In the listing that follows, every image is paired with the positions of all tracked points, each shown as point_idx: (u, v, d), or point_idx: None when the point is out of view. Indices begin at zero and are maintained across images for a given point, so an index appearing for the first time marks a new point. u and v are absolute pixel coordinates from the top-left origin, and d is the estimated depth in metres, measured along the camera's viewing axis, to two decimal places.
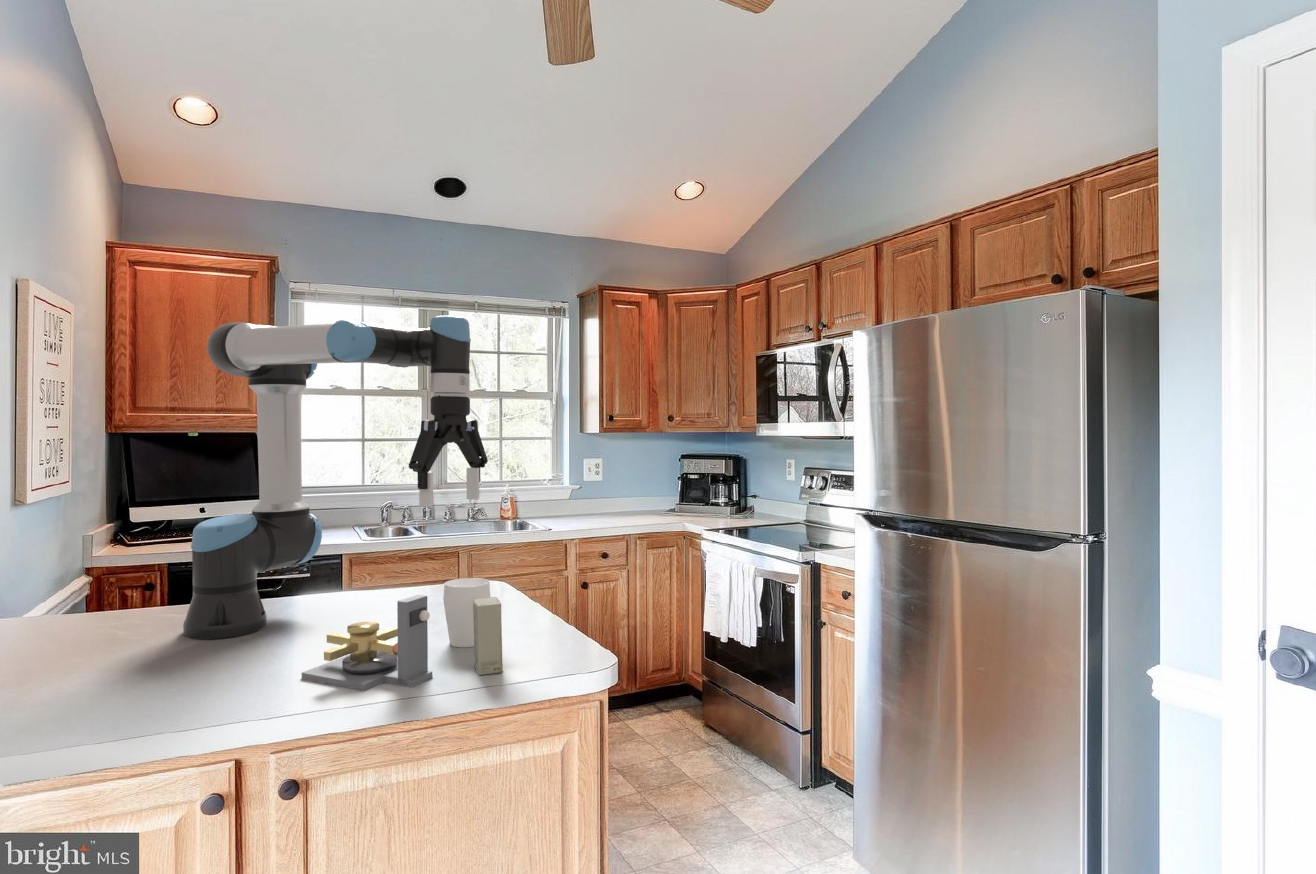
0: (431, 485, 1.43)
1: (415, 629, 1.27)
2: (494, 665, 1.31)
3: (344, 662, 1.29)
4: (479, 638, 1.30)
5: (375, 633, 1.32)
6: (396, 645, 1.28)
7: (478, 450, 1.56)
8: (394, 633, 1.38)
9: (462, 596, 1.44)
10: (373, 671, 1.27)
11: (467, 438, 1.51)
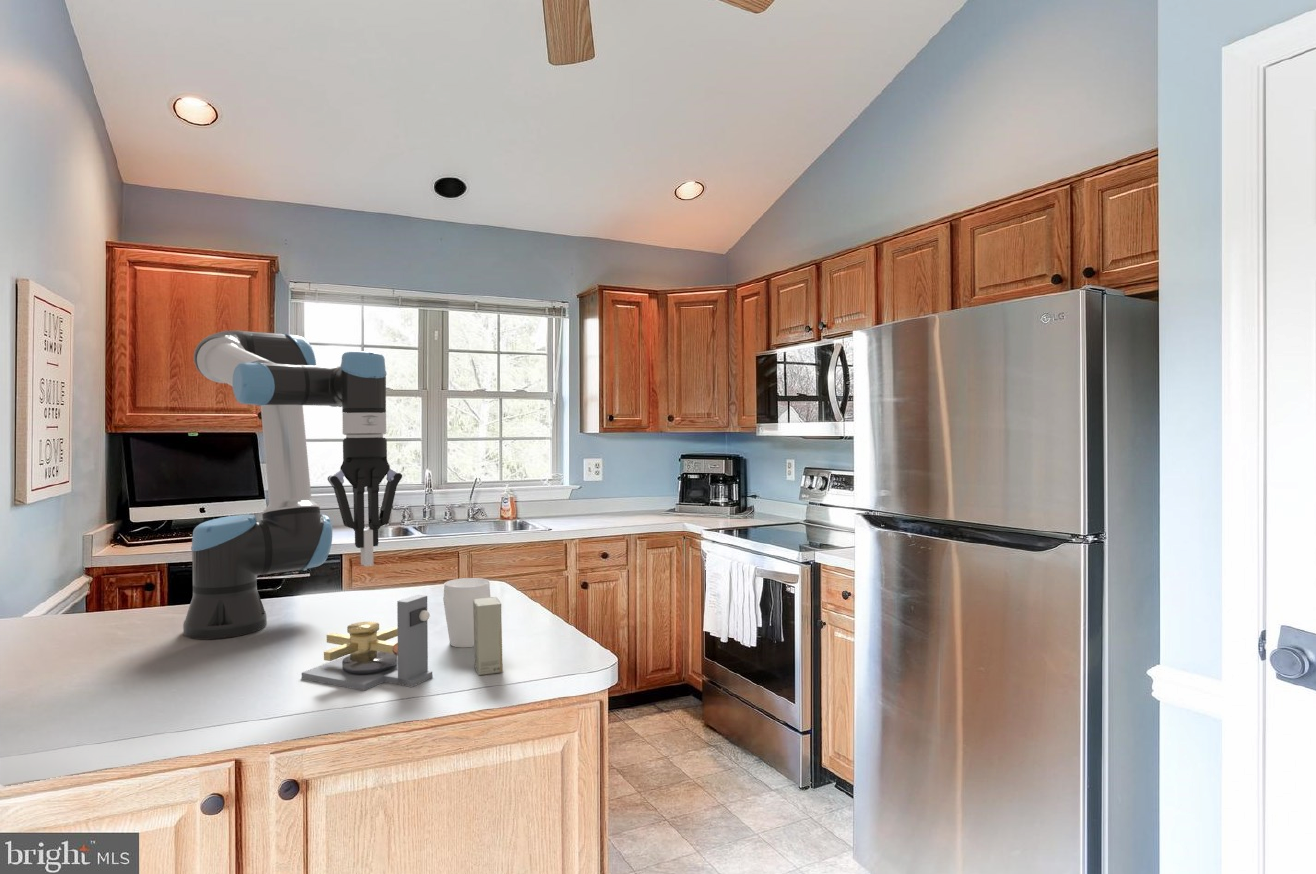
0: (366, 544, 1.37)
1: (415, 629, 1.27)
2: (494, 665, 1.31)
3: (344, 662, 1.29)
4: (479, 638, 1.30)
5: (375, 633, 1.32)
6: (396, 645, 1.28)
7: (384, 505, 1.39)
8: (394, 633, 1.38)
9: (462, 596, 1.44)
10: (373, 671, 1.27)
11: (375, 486, 1.38)
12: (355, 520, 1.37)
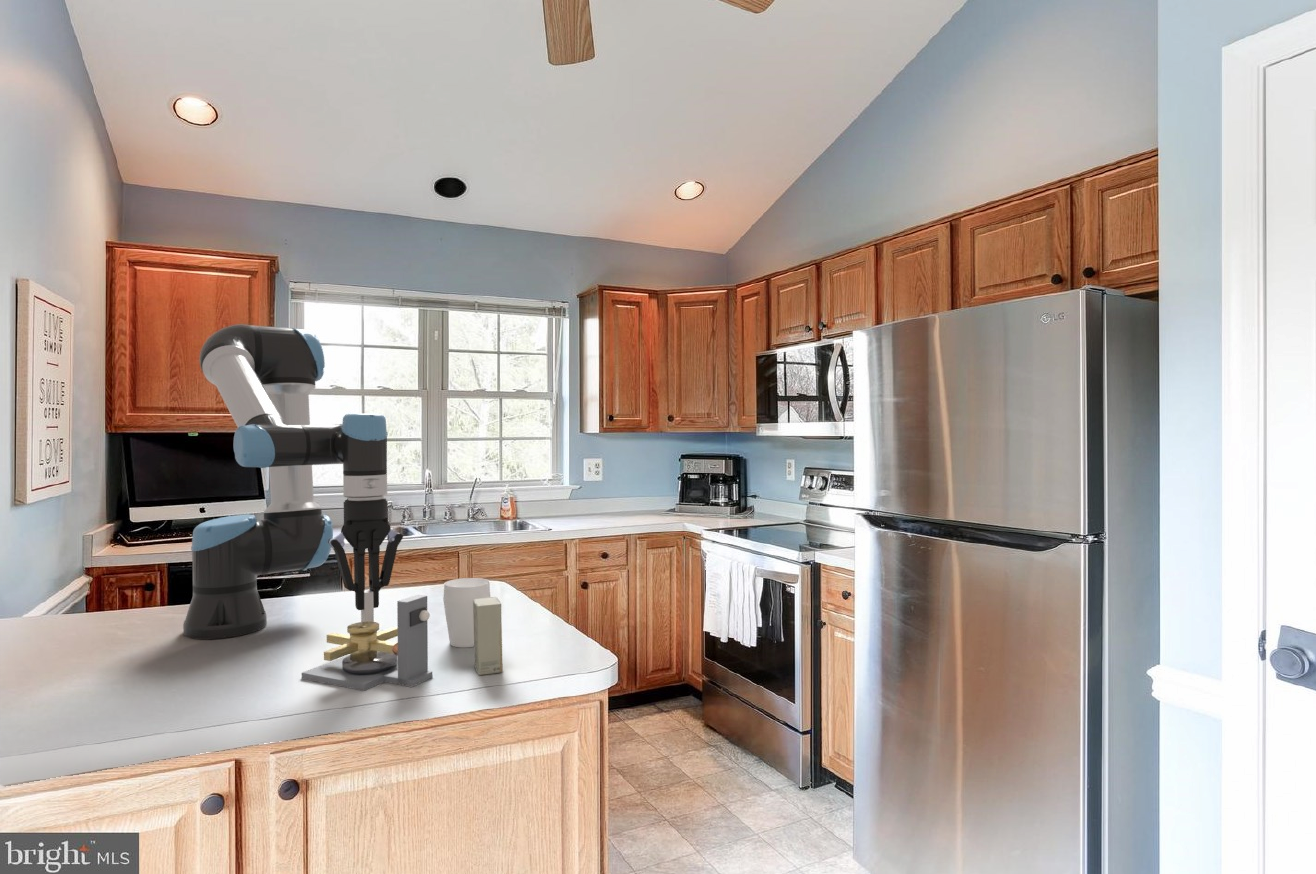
0: (367, 606, 1.37)
1: (415, 629, 1.27)
2: (494, 665, 1.31)
3: (344, 662, 1.29)
4: (479, 638, 1.30)
5: (375, 633, 1.32)
6: (396, 645, 1.28)
7: (385, 566, 1.39)
8: (394, 633, 1.38)
9: (462, 596, 1.44)
10: (373, 671, 1.27)
11: (376, 548, 1.37)
12: (355, 582, 1.37)
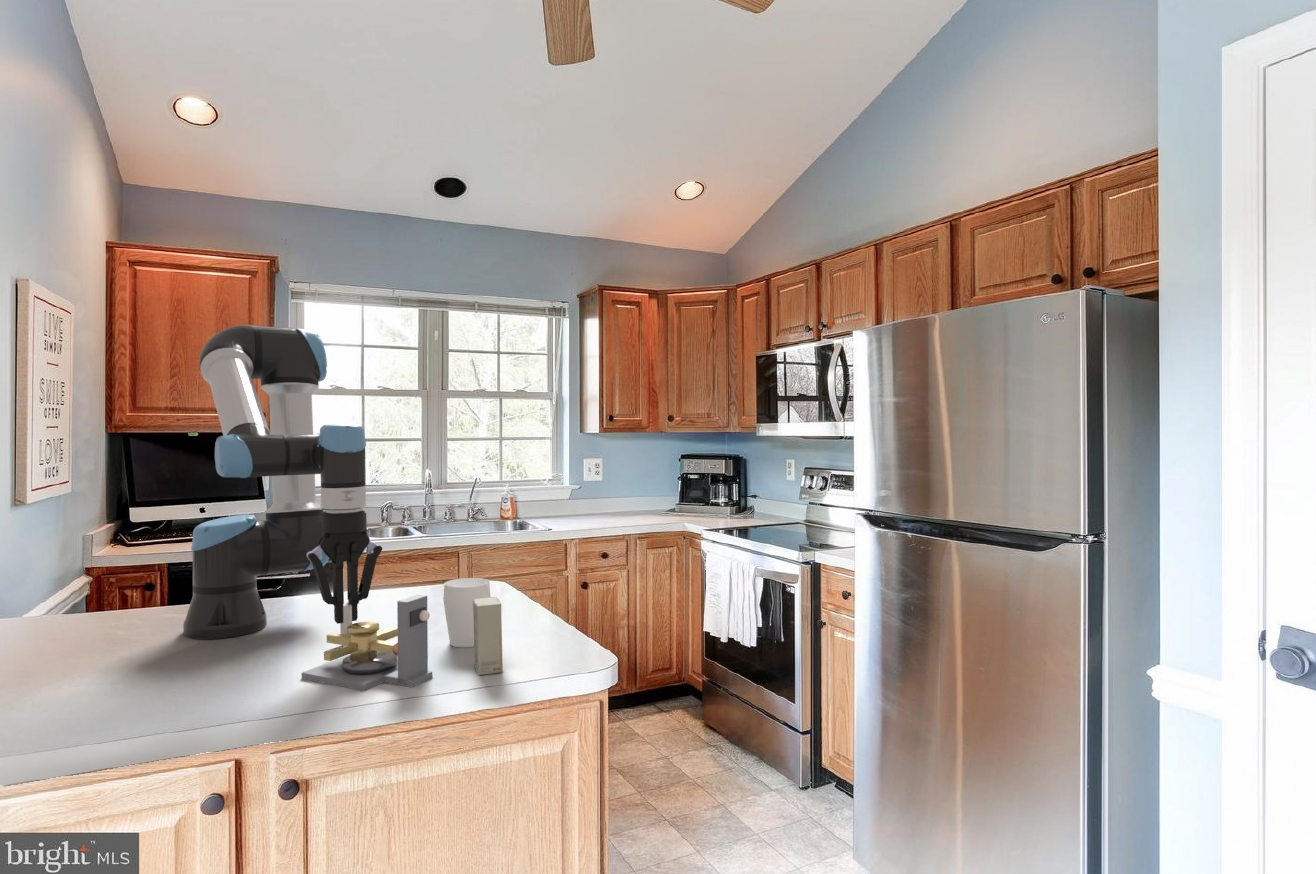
0: (346, 619, 1.35)
1: (415, 629, 1.27)
2: (494, 665, 1.31)
3: (344, 662, 1.29)
4: (479, 638, 1.30)
5: (375, 633, 1.32)
6: (396, 645, 1.28)
7: (364, 579, 1.37)
8: (394, 633, 1.38)
9: (462, 596, 1.44)
10: (373, 671, 1.27)
11: (354, 561, 1.35)
12: (334, 595, 1.35)
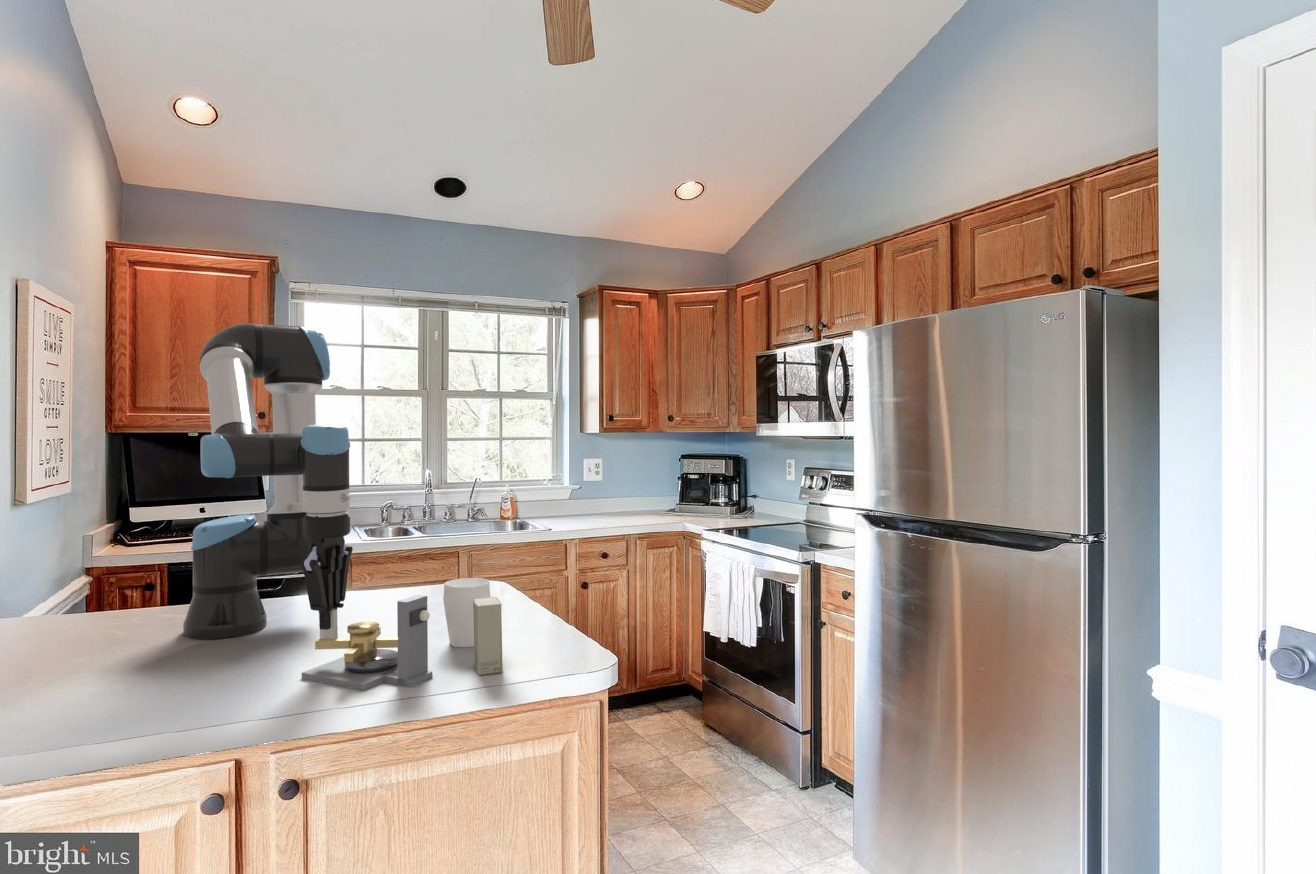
0: (335, 623, 1.32)
1: (415, 629, 1.27)
2: (494, 665, 1.31)
3: (352, 663, 1.29)
4: (479, 638, 1.30)
5: (376, 631, 1.33)
6: None
7: (340, 581, 1.35)
8: (378, 632, 1.39)
9: (462, 596, 1.44)
10: (388, 667, 1.30)
11: (340, 564, 1.33)
12: None
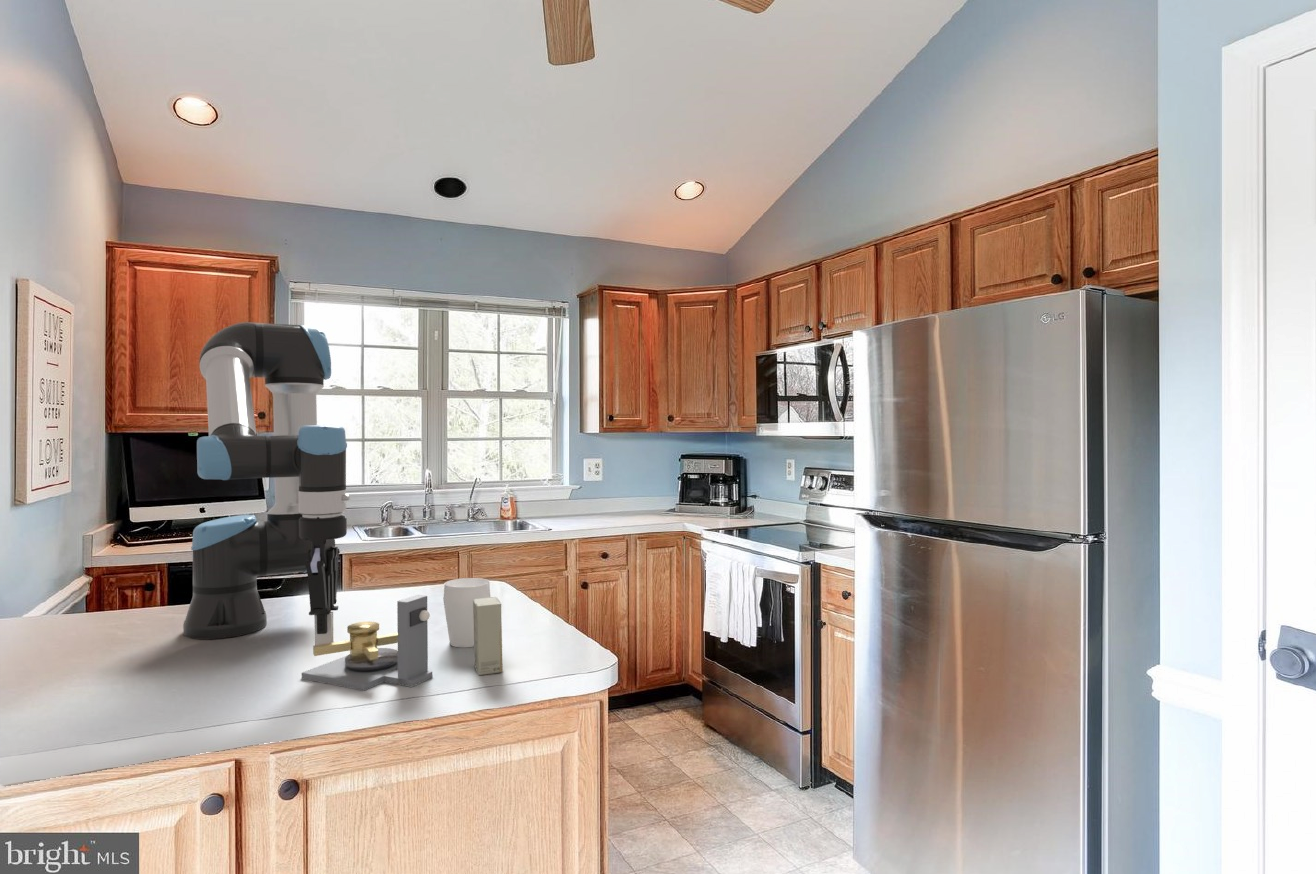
0: (331, 627, 1.30)
1: (415, 629, 1.27)
2: (494, 665, 1.31)
3: (362, 663, 1.29)
4: (479, 638, 1.30)
5: None
6: None
7: None
8: None
9: (462, 596, 1.44)
10: (397, 661, 1.32)
11: (335, 566, 1.32)
12: None
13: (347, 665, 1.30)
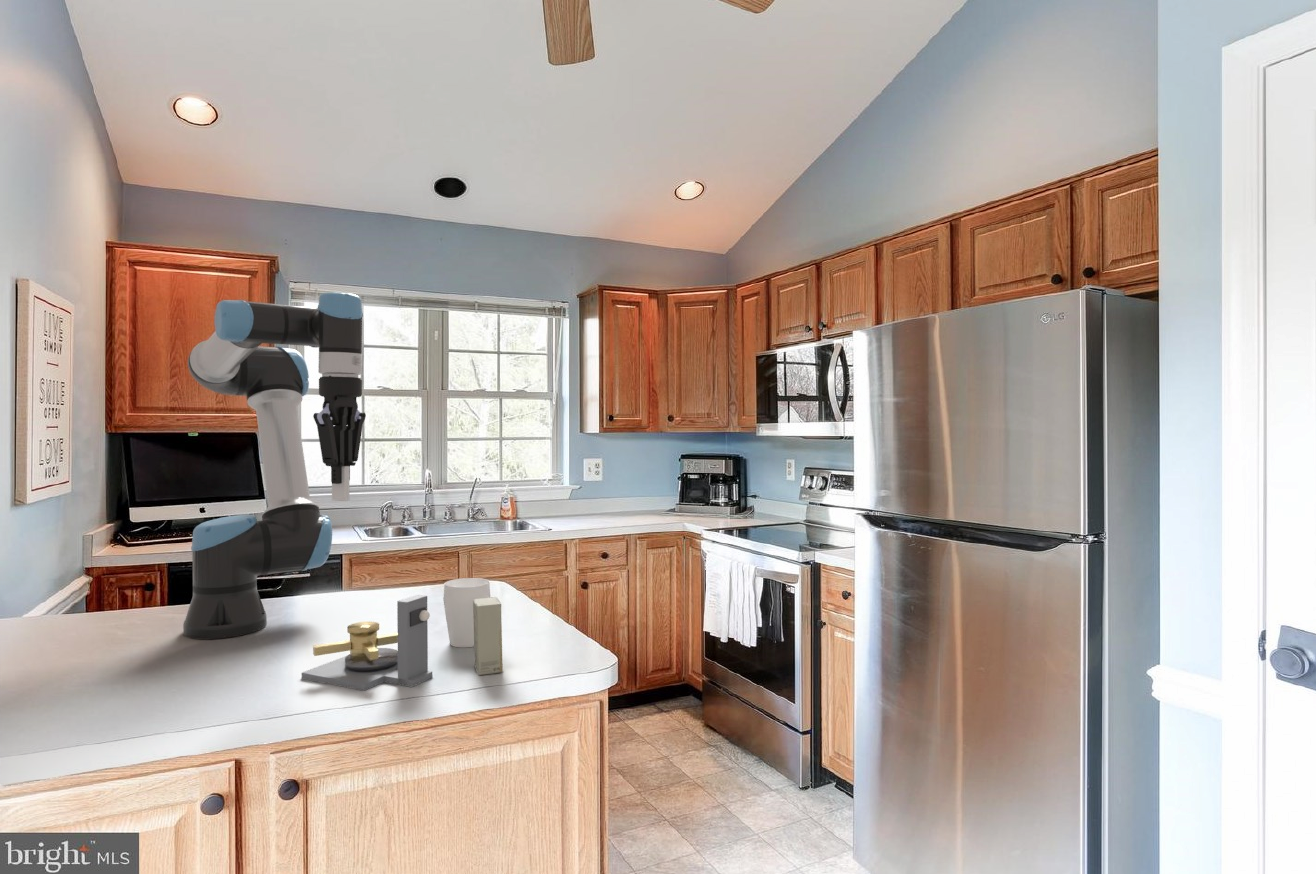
0: (345, 479, 1.42)
1: (415, 629, 1.27)
2: (494, 665, 1.31)
3: (362, 663, 1.29)
4: (479, 638, 1.30)
5: None
6: None
7: (353, 443, 1.46)
8: None
9: (462, 596, 1.44)
10: (397, 661, 1.32)
11: (352, 424, 1.43)
12: None
13: (347, 665, 1.30)
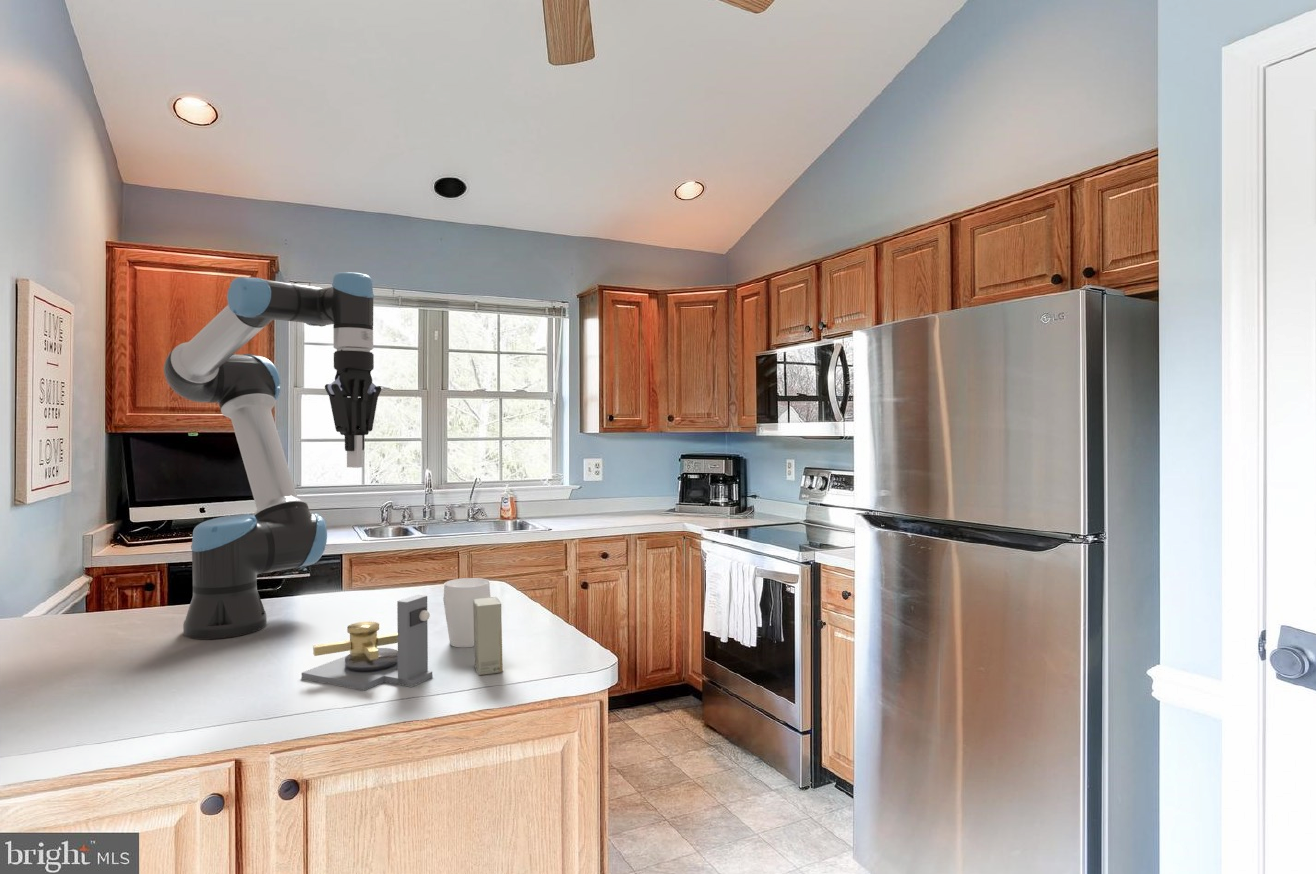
0: (358, 447, 1.52)
1: (415, 629, 1.27)
2: (494, 665, 1.31)
3: (362, 663, 1.29)
4: (479, 638, 1.30)
5: None
6: None
7: (368, 414, 1.55)
8: None
9: (462, 596, 1.44)
10: (397, 661, 1.32)
11: (365, 396, 1.53)
12: None
13: (347, 665, 1.30)
